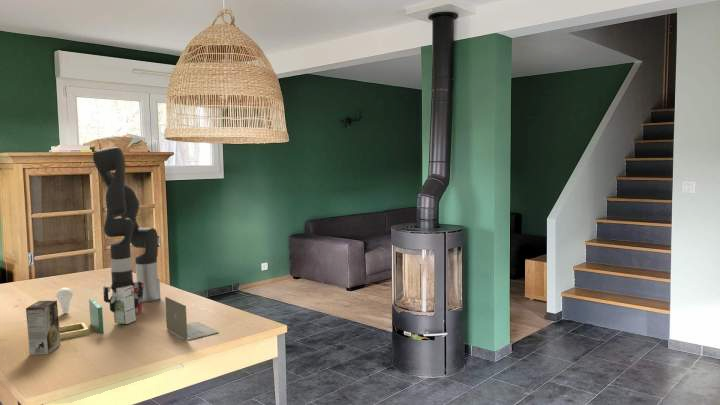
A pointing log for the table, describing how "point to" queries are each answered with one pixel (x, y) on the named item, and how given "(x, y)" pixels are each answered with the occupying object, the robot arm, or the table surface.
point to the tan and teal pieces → (95, 320)
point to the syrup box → (124, 305)
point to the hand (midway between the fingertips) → (124, 309)
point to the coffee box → (43, 327)
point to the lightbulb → (64, 298)
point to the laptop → (184, 322)
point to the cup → (139, 300)
